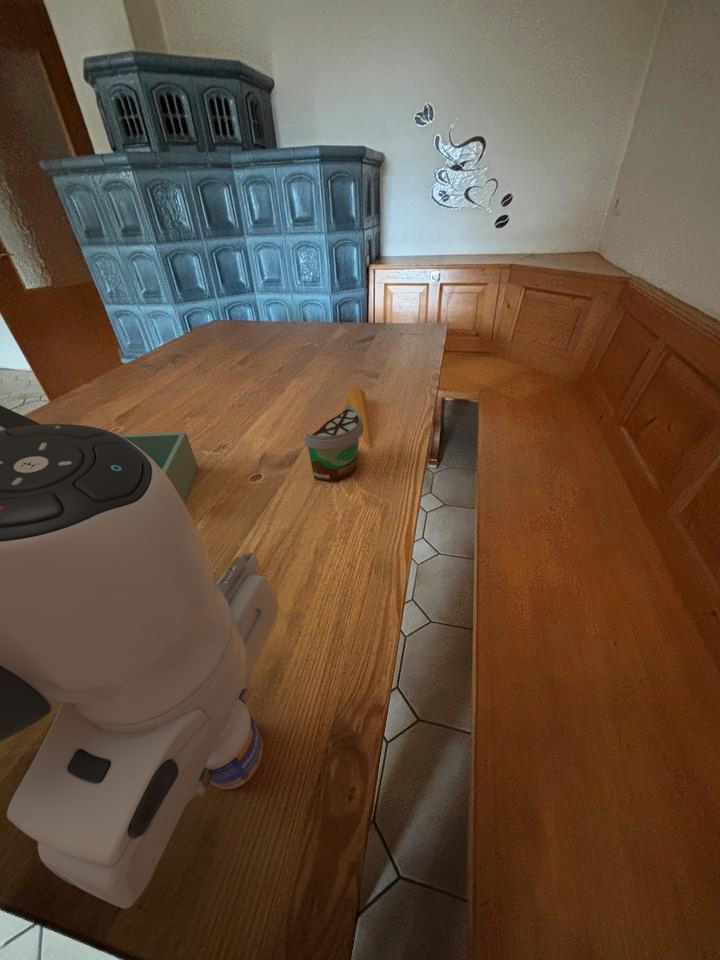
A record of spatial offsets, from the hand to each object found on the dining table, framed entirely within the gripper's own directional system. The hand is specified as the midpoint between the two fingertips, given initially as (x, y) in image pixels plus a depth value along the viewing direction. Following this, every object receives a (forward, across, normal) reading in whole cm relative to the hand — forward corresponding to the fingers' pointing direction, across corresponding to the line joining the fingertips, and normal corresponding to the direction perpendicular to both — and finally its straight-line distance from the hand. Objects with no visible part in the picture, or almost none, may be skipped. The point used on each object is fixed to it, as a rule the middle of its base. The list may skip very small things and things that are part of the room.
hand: (221, 736), depth 33 cm
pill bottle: (+5, 0, 0) cm, 5 cm away
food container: (+5, -44, -3) cm, 44 cm away
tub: (+5, -29, -33) cm, 44 cm away
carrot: (+5, -60, -4) cm, 61 cm away
